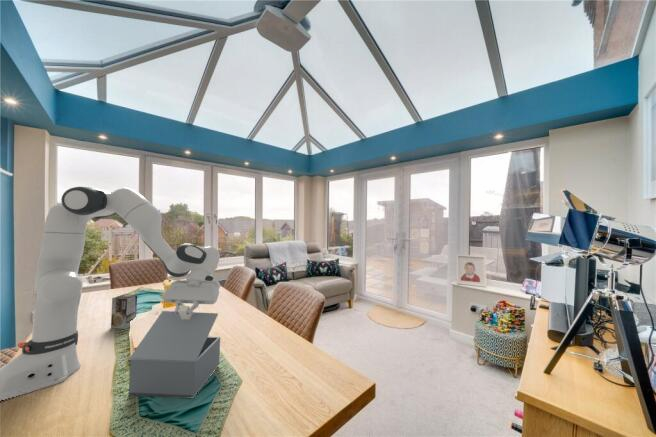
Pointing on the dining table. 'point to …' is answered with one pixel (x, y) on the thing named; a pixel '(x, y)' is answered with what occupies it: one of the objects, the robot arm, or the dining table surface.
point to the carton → (174, 374)
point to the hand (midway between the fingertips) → (182, 313)
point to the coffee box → (123, 311)
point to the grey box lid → (176, 336)
